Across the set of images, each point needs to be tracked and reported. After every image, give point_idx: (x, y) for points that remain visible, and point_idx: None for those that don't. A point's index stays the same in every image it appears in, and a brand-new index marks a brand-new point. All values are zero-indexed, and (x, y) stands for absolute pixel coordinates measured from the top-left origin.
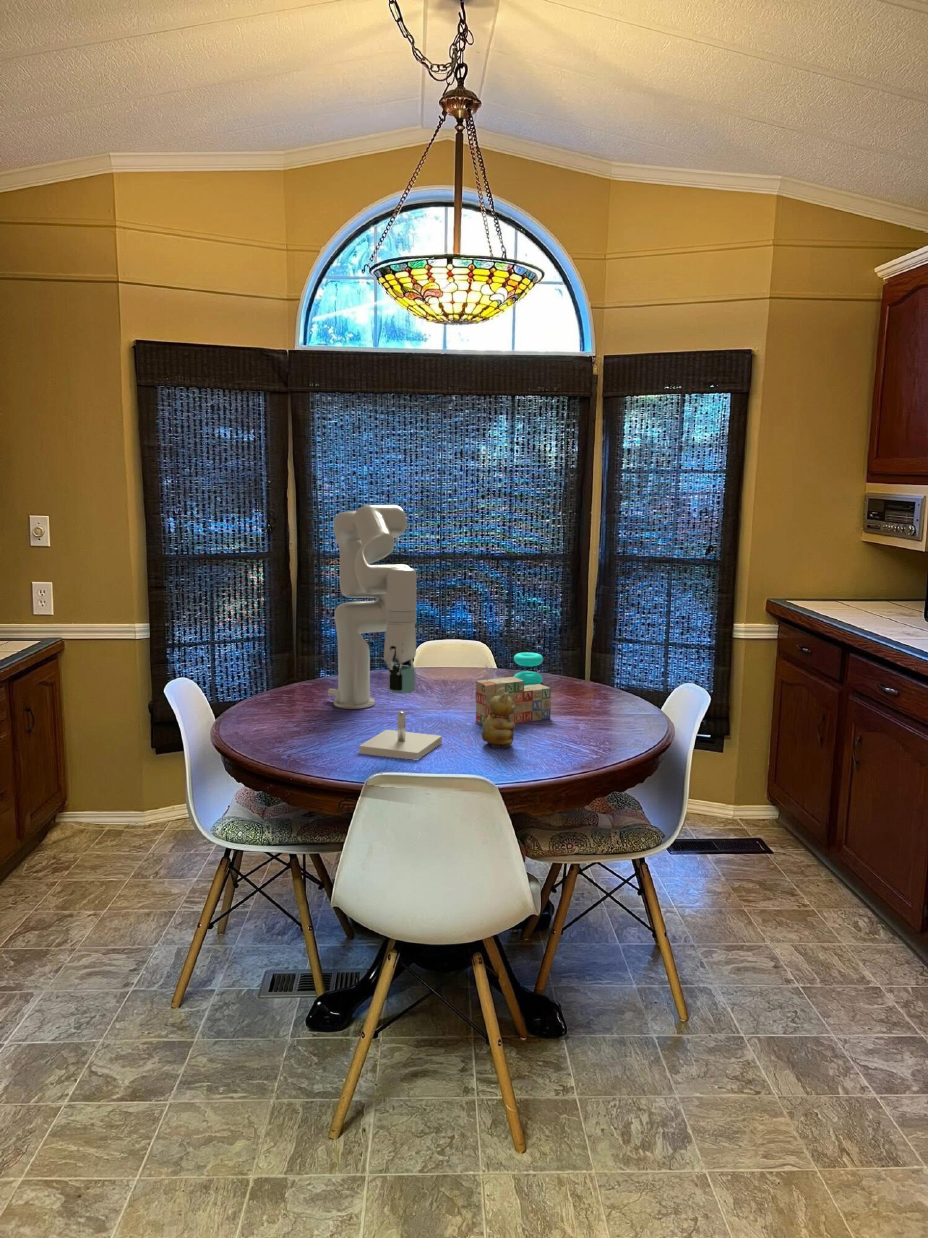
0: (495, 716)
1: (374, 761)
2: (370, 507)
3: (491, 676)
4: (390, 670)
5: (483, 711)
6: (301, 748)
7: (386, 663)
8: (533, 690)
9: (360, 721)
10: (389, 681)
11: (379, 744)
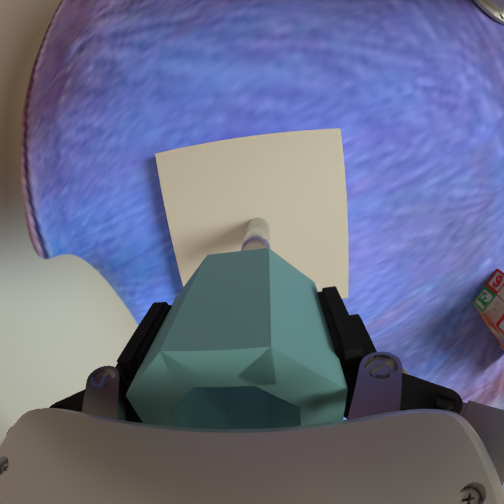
0: None
1: (136, 222)
2: None
3: None
4: (71, 405)
5: (494, 309)
6: (134, 21)
7: (9, 430)
8: None
9: (412, 16)
10: (185, 293)
11: (193, 194)
